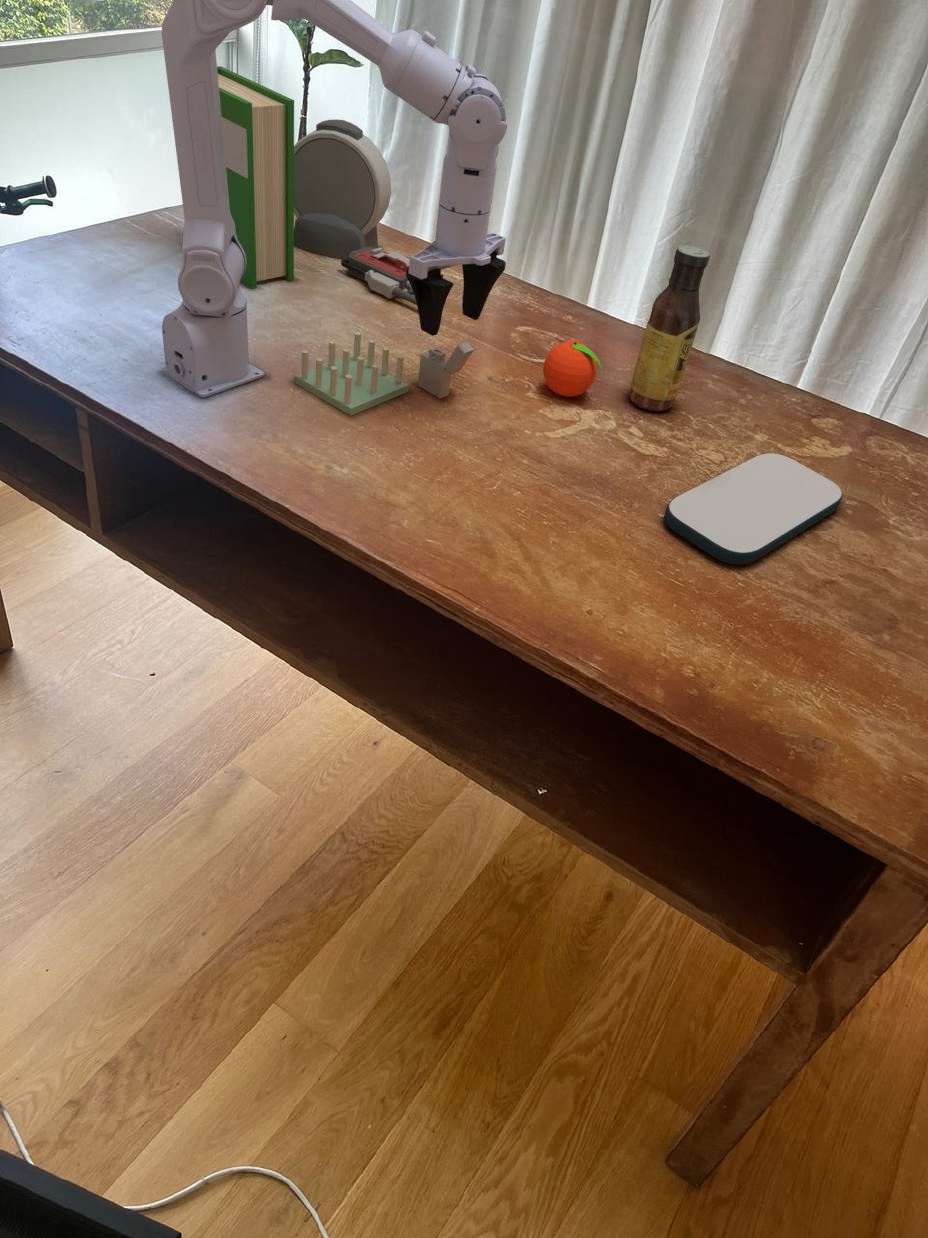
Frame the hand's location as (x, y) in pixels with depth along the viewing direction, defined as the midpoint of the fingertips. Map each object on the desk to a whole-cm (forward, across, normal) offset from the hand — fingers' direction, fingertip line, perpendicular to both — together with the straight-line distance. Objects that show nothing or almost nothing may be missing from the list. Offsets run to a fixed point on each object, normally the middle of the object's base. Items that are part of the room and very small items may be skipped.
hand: (450, 324), depth 107 cm
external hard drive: (+10, +9, -40) cm, 42 cm away
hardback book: (+10, +5, +46) cm, 47 cm away
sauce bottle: (+10, +22, -18) cm, 30 cm away
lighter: (+10, 0, 0) cm, 10 cm away
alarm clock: (+10, +23, +44) cm, 51 cm away
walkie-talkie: (+10, +19, +26) cm, 34 cm away
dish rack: (+9, -8, +8) cm, 15 cm away
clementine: (+10, +14, -10) cm, 20 cm away
